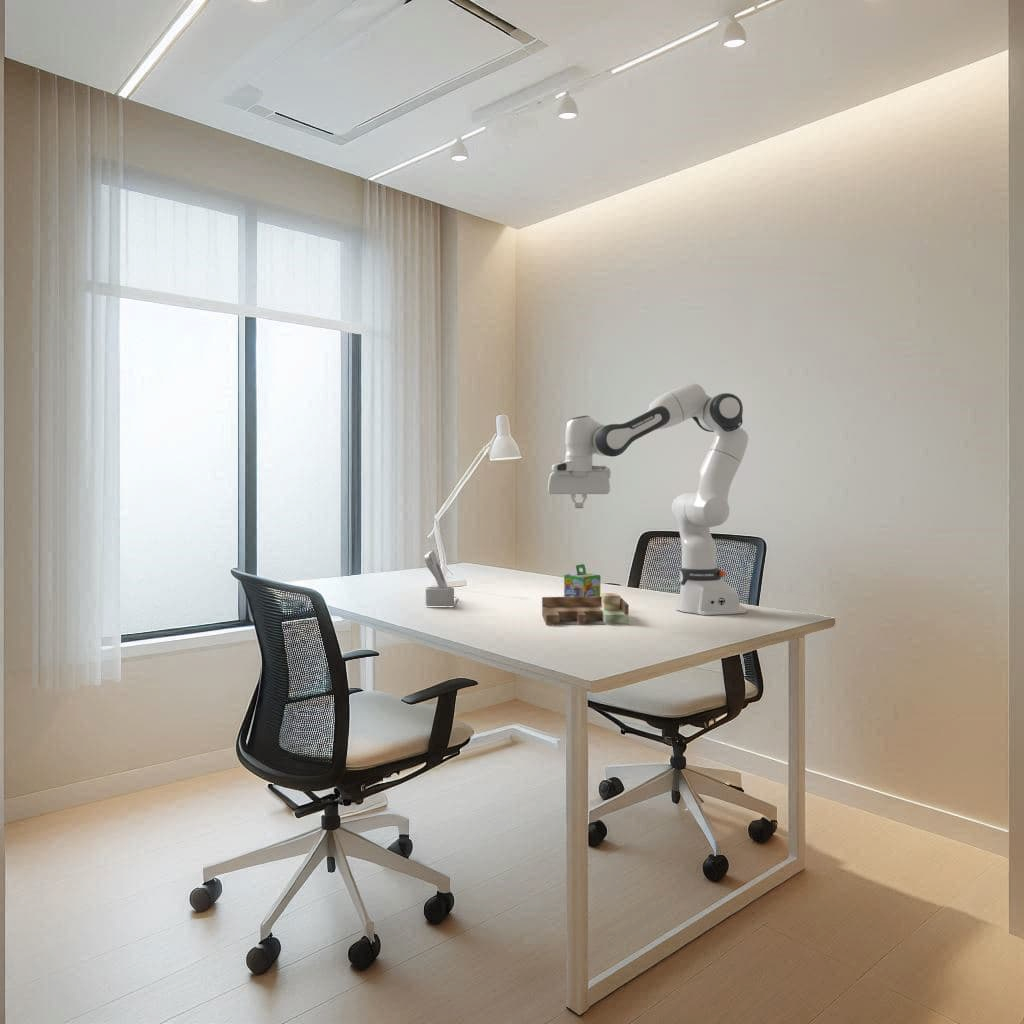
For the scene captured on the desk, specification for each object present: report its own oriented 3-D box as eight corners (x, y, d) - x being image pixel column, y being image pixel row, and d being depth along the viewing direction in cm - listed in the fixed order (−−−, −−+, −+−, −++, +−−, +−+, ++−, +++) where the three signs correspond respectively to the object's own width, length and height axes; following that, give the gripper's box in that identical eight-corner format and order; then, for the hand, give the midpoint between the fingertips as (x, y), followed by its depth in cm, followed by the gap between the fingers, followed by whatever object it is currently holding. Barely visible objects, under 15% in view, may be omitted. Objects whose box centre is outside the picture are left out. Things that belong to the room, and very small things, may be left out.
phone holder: (453, 607, 262) (453, 555, 261) (424, 607, 262) (423, 555, 261) (458, 598, 280) (458, 549, 278) (430, 598, 280) (430, 549, 279)
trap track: (619, 614, 249) (619, 596, 249) (628, 624, 234) (628, 604, 234) (542, 615, 248) (542, 597, 248) (546, 625, 233) (546, 605, 233)
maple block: (617, 607, 246) (617, 593, 246) (620, 609, 241) (620, 595, 241) (601, 607, 246) (601, 593, 246) (604, 610, 241) (604, 595, 241)
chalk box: (584, 612, 254) (584, 567, 253) (563, 608, 260) (563, 565, 259) (601, 608, 260) (601, 564, 259) (580, 605, 267) (580, 562, 266)
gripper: (608, 465, 256) (608, 507, 257) (547, 465, 255) (547, 507, 256) (612, 465, 249) (611, 508, 250) (548, 465, 249) (548, 508, 249)
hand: (578, 508), depth 253 cm, fingers closed
